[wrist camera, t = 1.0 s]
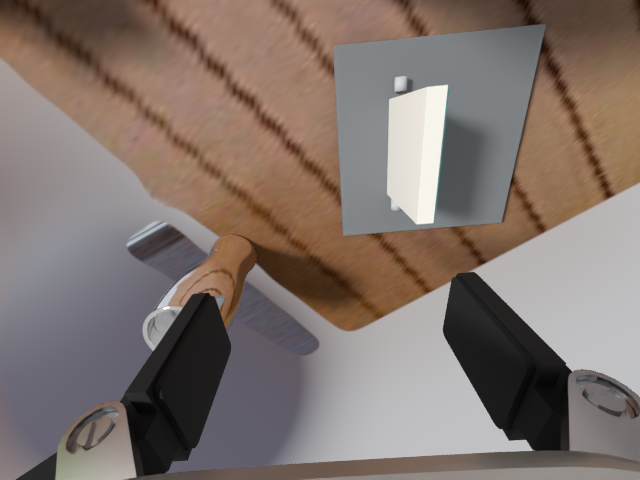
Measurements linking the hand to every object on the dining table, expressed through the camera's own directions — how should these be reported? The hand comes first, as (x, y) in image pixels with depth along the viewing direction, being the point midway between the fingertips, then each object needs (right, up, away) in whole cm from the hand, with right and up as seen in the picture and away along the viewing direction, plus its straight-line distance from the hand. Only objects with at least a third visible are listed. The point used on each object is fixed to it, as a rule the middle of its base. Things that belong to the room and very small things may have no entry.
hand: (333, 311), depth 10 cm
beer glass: (-12, +1, +25) cm, 28 cm away
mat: (+12, +14, +19) cm, 26 cm away
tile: (+9, +13, +18) cm, 24 cm away
